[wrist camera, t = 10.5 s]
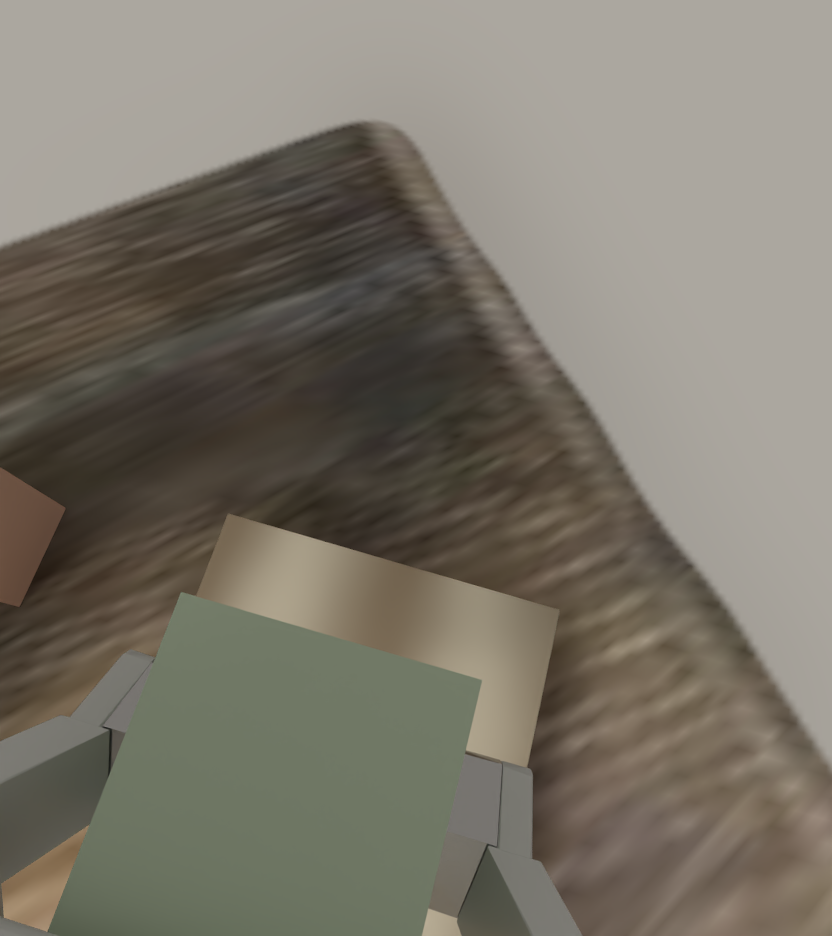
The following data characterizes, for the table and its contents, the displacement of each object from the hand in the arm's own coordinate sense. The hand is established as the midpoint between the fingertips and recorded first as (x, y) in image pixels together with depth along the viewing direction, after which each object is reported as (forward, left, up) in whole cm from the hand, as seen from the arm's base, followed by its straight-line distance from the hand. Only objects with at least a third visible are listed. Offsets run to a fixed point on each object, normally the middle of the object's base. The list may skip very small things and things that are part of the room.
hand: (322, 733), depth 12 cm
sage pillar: (0, -1, -4) cm, 4 cm away
